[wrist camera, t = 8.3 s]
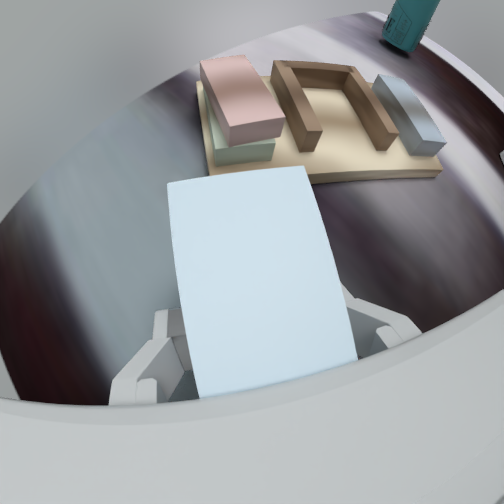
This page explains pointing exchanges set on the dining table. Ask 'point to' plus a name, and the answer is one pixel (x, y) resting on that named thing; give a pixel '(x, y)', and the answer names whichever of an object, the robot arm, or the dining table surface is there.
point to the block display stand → (314, 122)
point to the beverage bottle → (408, 22)
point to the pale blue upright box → (256, 280)
